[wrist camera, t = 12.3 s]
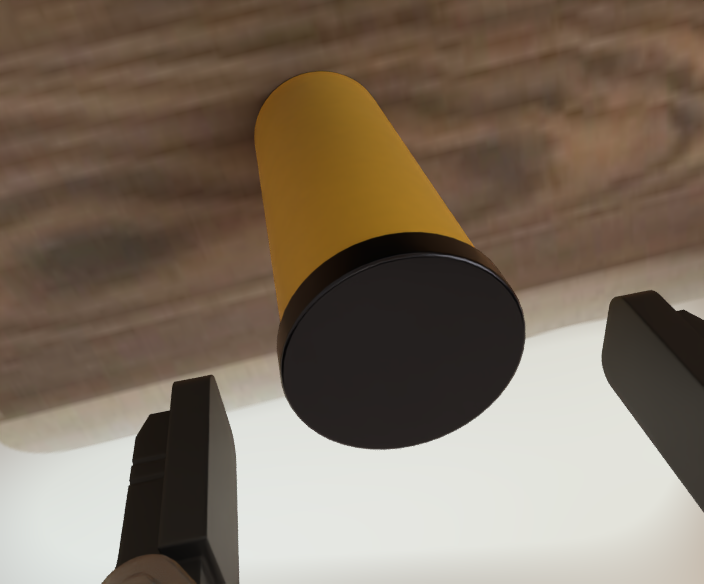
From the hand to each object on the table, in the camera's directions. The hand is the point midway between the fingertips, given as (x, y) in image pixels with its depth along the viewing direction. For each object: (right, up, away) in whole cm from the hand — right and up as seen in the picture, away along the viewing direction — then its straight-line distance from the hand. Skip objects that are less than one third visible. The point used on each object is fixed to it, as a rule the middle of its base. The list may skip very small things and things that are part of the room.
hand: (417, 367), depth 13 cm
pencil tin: (-2, +7, +11) cm, 13 cm away
